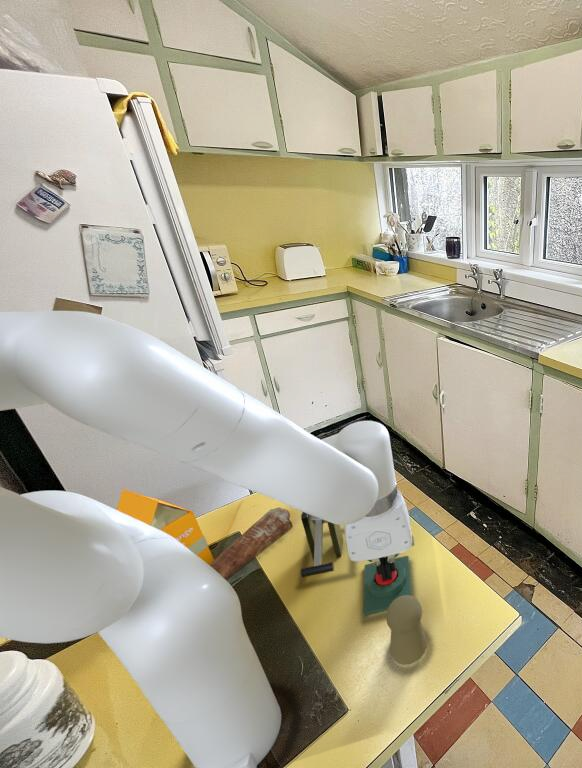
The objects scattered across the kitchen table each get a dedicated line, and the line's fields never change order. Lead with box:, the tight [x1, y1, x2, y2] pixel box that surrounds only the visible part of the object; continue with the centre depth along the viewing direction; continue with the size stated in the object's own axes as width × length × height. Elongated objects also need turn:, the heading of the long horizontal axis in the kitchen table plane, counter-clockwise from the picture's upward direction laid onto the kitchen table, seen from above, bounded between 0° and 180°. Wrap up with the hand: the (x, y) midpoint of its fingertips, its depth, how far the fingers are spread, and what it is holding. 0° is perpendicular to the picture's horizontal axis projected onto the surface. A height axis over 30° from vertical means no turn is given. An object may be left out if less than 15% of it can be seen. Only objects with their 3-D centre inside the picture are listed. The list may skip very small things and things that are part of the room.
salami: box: [209, 507, 293, 581], centre depth 79 cm, size 6×19×6 cm, turn 156°
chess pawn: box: [385, 595, 428, 666], centre depth 63 cm, size 6×6×11 cm
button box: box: [362, 555, 413, 617], centre depth 74 cm, size 10×8×4 cm
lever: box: [300, 516, 335, 578], centre depth 74 cm, size 12×5×2 cm, turn 17°
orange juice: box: [115, 488, 215, 565], centre depth 72 cm, size 8×9×20 cm
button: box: [376, 570, 397, 586], centre depth 73 cm, size 4×4×2 cm
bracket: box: [300, 511, 344, 563], centre depth 79 cm, size 12×9×13 cm
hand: (387, 573), depth 73 cm, fingers closed
